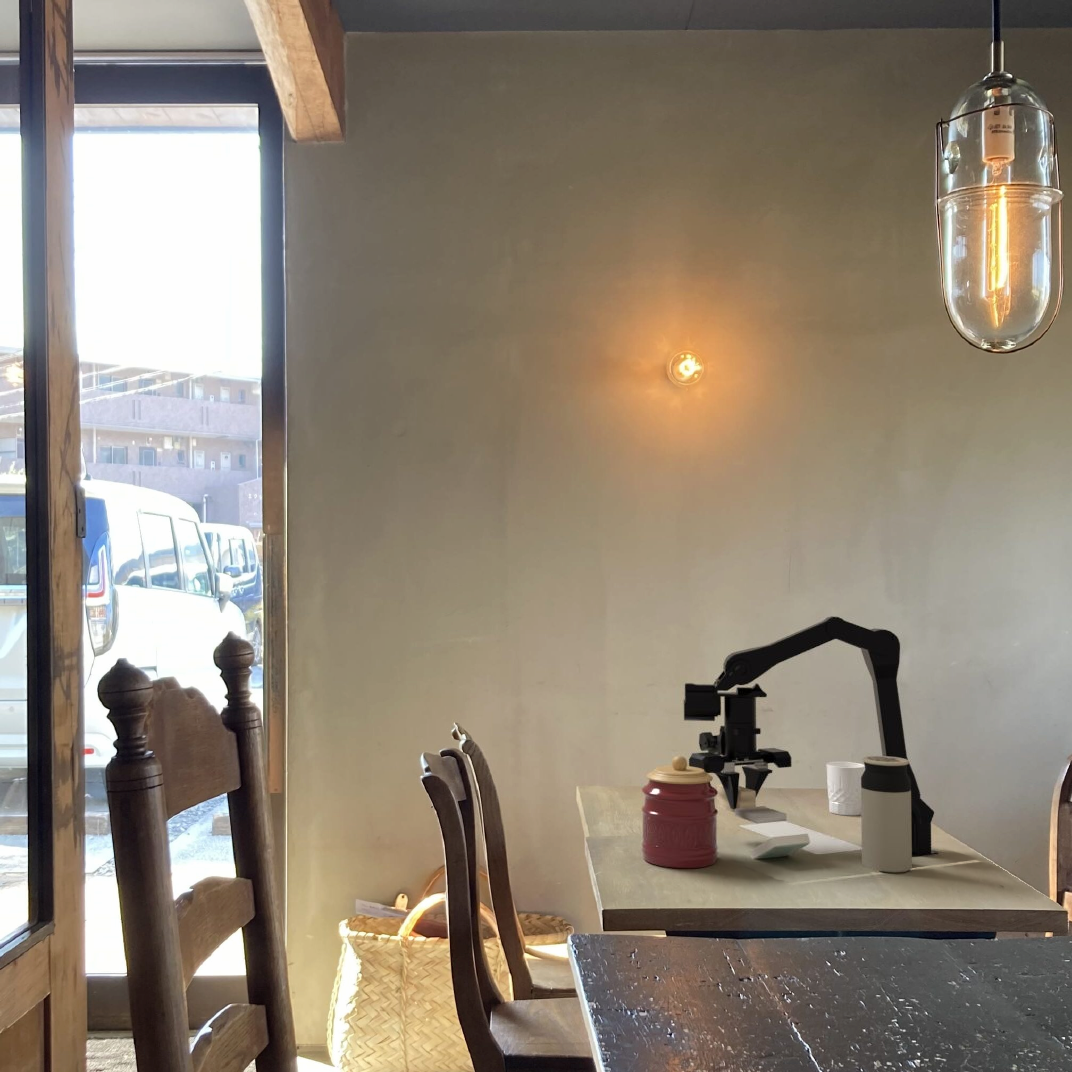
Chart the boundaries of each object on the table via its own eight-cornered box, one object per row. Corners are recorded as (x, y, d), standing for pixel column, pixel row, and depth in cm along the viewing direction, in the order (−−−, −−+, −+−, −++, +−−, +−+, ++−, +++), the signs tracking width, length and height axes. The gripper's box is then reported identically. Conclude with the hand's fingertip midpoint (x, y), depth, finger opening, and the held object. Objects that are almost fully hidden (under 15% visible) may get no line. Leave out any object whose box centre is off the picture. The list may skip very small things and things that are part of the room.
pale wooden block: (786, 820, 179) (786, 797, 179) (757, 823, 177) (757, 800, 177) (737, 804, 193) (737, 782, 193) (710, 807, 191) (710, 785, 191)
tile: (785, 857, 180) (810, 843, 173) (751, 860, 177) (776, 847, 171) (782, 847, 180) (807, 833, 174) (749, 850, 178) (773, 837, 172)
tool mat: (867, 851, 184) (867, 848, 184) (817, 856, 180) (817, 854, 180) (784, 823, 206) (784, 821, 206) (738, 827, 202) (738, 825, 202)
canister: (721, 853, 181) (721, 752, 182) (713, 872, 169) (713, 763, 170) (648, 848, 185) (648, 748, 186) (635, 866, 172) (635, 759, 173)
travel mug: (879, 875, 168) (878, 763, 169) (852, 863, 176) (851, 756, 177) (922, 872, 170) (920, 762, 171) (893, 860, 178) (891, 754, 179)
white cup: (861, 809, 220) (860, 762, 221) (869, 817, 212) (869, 768, 213) (823, 808, 221) (823, 761, 222) (830, 815, 213) (830, 767, 214)
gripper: (757, 714, 199) (758, 796, 198) (673, 718, 191) (673, 803, 190) (793, 721, 188) (794, 807, 187) (705, 725, 181) (705, 815, 180)
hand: (741, 808), depth 187 cm, fingers closed on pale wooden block, 3 cm apart
